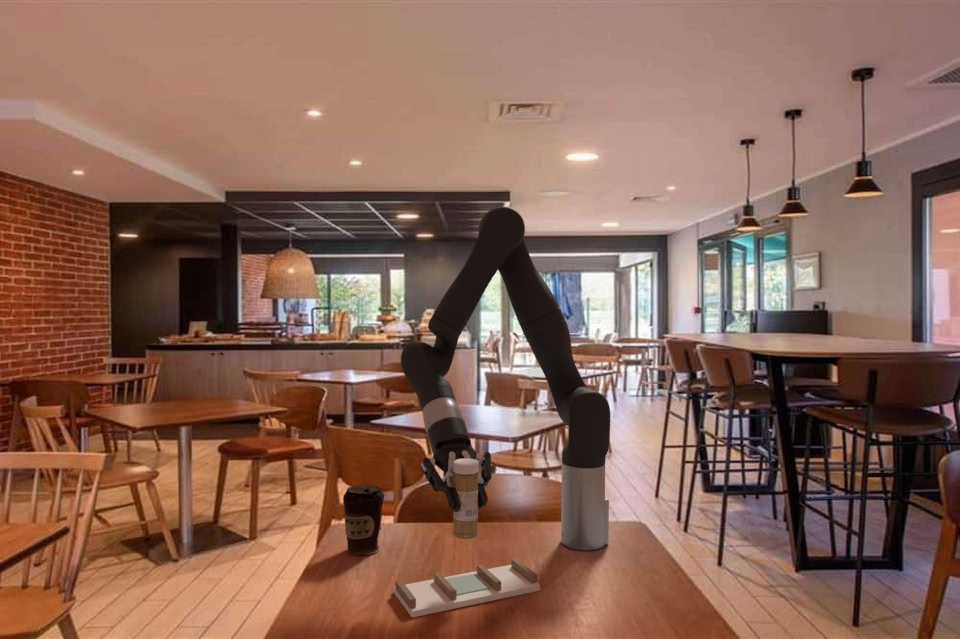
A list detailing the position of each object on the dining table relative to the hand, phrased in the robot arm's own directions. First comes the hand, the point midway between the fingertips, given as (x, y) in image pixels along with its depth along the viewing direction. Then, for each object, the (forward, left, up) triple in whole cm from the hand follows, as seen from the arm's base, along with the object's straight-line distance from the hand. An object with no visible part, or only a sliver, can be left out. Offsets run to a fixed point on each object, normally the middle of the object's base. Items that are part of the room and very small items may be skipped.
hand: (470, 507), depth 111 cm
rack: (0, -1, -15) cm, 15 cm away
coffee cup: (+12, -27, -16) cm, 34 cm away
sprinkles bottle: (0, -2, -6) cm, 6 cm away
